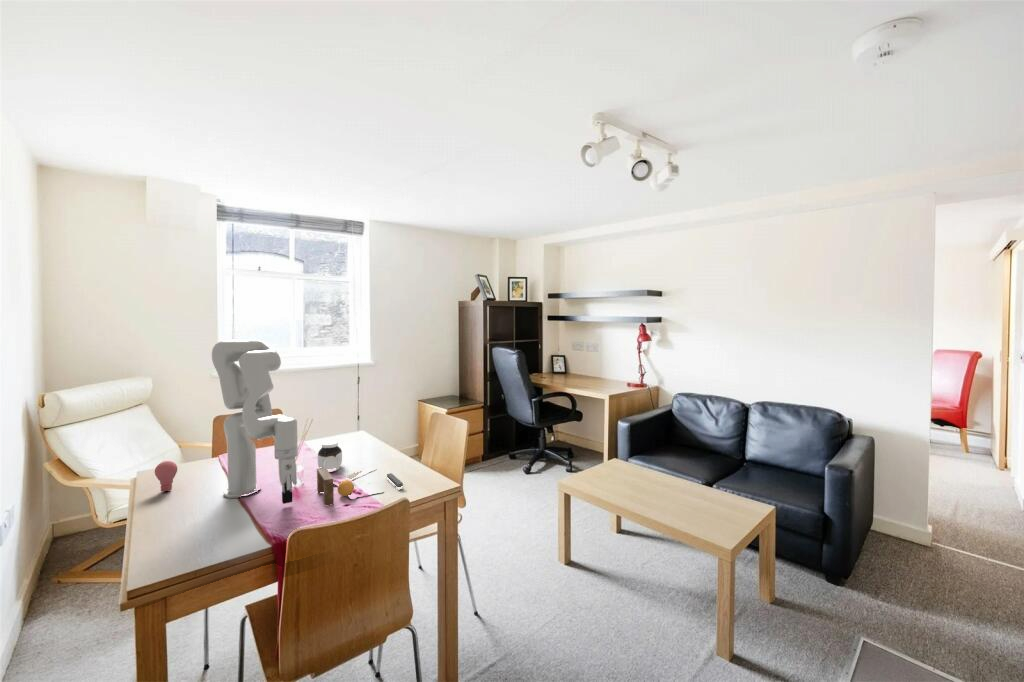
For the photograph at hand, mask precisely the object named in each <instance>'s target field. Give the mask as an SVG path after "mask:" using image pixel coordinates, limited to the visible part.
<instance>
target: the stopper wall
mask: <svg viewBox="0 0 1024 682" xmlns="http://www.w3.org/2000/svg"><path fill="white" fill-rule="evenodd" d="M387 477H388V478H389V479H390V480H391V481H392V482H393V483H394V484H395V485H396V486H397V487H401V486H403V487H404V483H403V482H402V481H401V480H400V479H399V478H397V476H396V475H394V474H393V473H387V474H386V478H387Z"/></svg>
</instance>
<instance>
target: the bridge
mask: <svg viewBox="0 0 1024 682" xmlns="http://www.w3.org/2000/svg"><path fill="white" fill-rule="evenodd" d="M333 482H334V477H333V476H332V474H331V473H329V472H328V470H327V469H326V468H325V467H324V468H320V467H319V468H316V484H317V486H316V491H318V493H320V492H324V494H323V505H324V504H325V505H329V506H331V505H330V504H333V503H334V502H335V501H334V495H335V494H334V493H335V492H334V490H335V489H334V485H333ZM318 493H317V494H318ZM334 504H335V503H334ZM325 505H324V506H325Z"/></svg>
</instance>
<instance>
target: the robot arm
mask: <svg viewBox="0 0 1024 682" xmlns="http://www.w3.org/2000/svg"><path fill="white" fill-rule="evenodd" d="M211 360H212V364H213V366H214V369H215V371H216V372H217V375H218V378H219V384H220V390H221V395H222V401H223V403H224V407H226V409H228V410H242V411H241V412H235V413H232V414H229V415H228V416H227V417H226V418H225V419H224V421H223V424H222V425H223V432H224V435H225V440H226V453H227V484H228V486H227V489H225V490H224V491H223V497H225V498H229V499H238V498H239V496H241V495H244V494H249V493H252V492H254V491H257V490H258V489H256V487H257V486H256V484H257V452H256V451H257V447H256V444H255V442H254V441H259V440H264V439H267V438H272V437H273V439H274V440H273V441H274V442H273V444H274V459H275V460H277V461H278V462H277V464H278V465H277V466H278V479H279V483H280V485H281V487H282V488H281V489H282V491H281V502H282V504H283V505H284V504H289V503H292V502H293V487H292V486H293V485H295V486H296V485H297V483H298V482H297V480H298V479H297V463H296V458H297V457H298V455H299V454H298V453H299V448H298V447H299V446H298V445H299V444H298V443H299V442H298V420H297V419H296V418H294V417H287V416H286V415H284V414H274V415H273V409H272V404H271V399H270V392H272V391H273V389H274V384H273V381H272V378H271V376H270V375H271V374H270V372H275V371H277V370H279V369H280V368H281V366H282V365H281V364H282V360H281V357H280V355H279V353H278V352H277V351H276V350H275V349H274V348H273V347H271V346H270V345H268V344H267V343H265V342H264V341H262V340H260V339H256V338H253V339H252V338H251V339H250V338H249V339H227V340H221V341H219V342H217V343H215V344H214V346H213V347H212V350H211ZM235 362H238V364H237V363H235ZM254 489H256V490H254Z"/></svg>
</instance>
